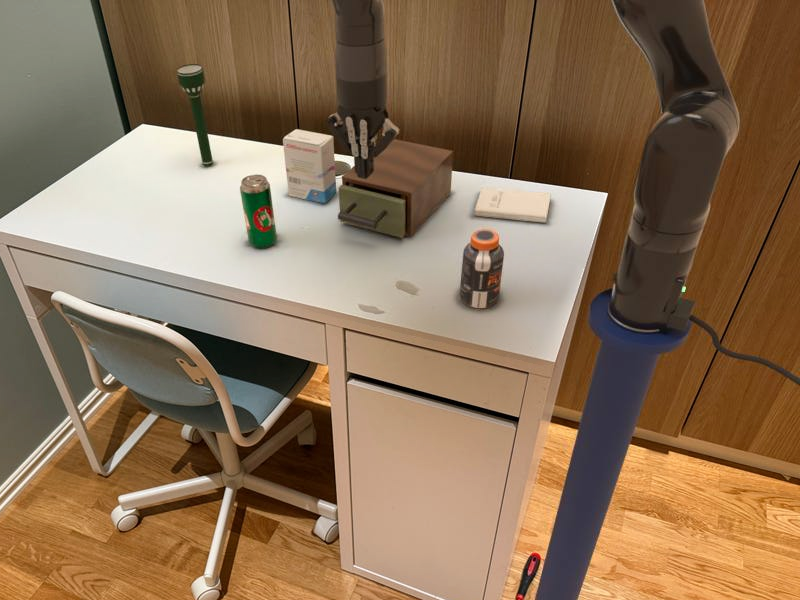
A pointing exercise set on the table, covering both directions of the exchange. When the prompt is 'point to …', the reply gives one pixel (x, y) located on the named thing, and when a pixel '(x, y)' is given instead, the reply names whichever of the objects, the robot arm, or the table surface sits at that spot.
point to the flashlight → (196, 105)
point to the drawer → (373, 209)
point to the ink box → (310, 165)
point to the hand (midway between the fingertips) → (364, 176)
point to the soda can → (258, 211)
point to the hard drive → (513, 205)
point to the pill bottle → (481, 269)
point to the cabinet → (411, 178)
